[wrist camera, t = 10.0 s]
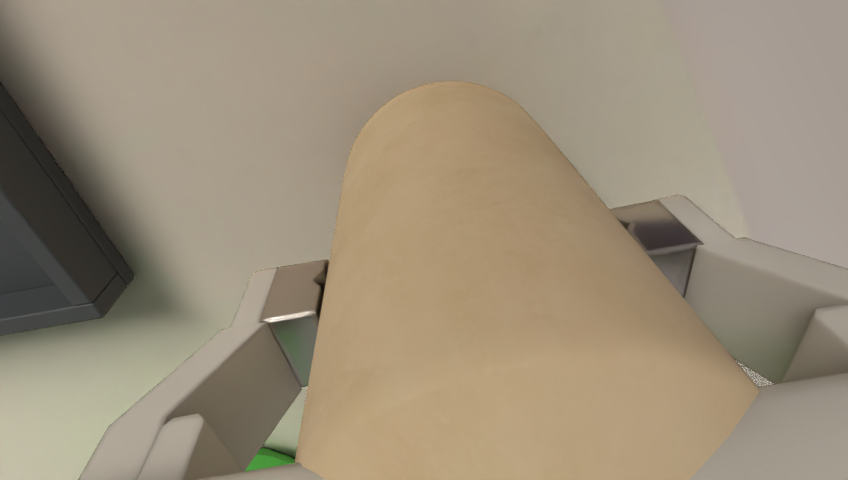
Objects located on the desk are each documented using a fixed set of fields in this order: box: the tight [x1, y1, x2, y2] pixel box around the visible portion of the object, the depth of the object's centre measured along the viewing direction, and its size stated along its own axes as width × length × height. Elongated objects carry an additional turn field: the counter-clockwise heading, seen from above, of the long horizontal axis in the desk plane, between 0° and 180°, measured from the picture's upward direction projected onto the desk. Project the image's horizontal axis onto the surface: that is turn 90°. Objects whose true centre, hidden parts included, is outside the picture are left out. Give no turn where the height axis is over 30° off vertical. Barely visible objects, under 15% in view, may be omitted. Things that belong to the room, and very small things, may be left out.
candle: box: [295, 81, 760, 480], centre depth 8 cm, size 6×6×10 cm
